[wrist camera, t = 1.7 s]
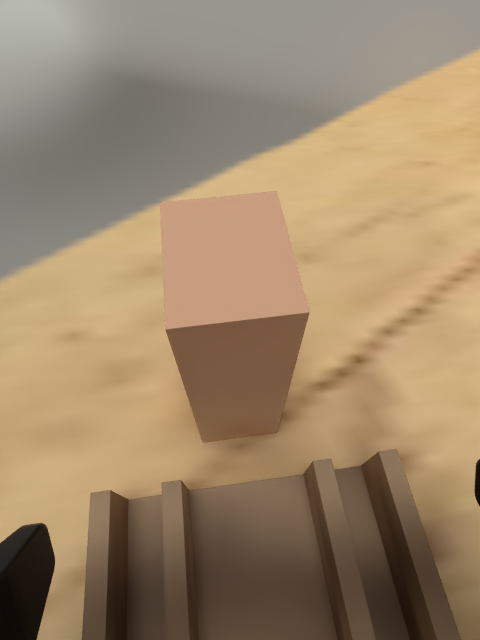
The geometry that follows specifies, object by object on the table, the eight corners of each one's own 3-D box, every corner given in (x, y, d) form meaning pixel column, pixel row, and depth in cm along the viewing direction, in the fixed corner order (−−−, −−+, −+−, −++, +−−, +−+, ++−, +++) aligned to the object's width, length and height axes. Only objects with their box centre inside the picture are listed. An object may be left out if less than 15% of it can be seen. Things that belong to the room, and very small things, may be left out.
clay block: (276, 432, 21) (309, 312, 11) (202, 442, 21) (165, 329, 11) (262, 350, 24) (276, 191, 14) (195, 358, 24) (160, 202, 13)
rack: (442, 703, 16) (494, 740, 12) (108, 766, 15) (71, 824, 11) (371, 467, 20) (396, 449, 17) (115, 504, 19) (90, 493, 16)
